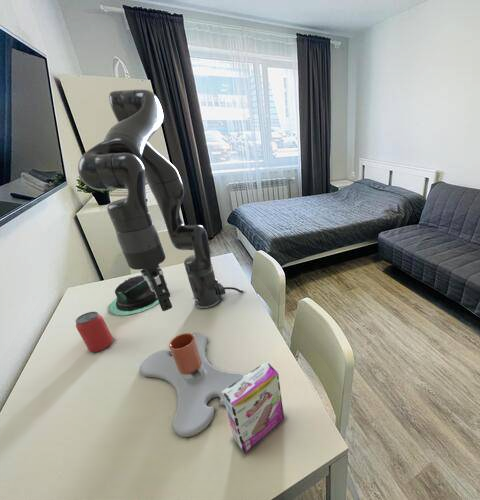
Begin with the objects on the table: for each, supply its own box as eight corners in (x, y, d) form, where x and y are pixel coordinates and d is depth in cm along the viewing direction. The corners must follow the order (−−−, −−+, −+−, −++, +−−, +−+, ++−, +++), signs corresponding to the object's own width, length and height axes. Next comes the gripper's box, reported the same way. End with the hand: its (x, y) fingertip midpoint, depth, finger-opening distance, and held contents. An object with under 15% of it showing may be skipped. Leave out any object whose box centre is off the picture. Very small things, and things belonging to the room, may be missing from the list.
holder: (183, 446, 61) (177, 433, 59) (137, 366, 82) (131, 354, 79) (255, 389, 74) (253, 376, 72) (199, 332, 94) (196, 321, 92)
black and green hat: (147, 313, 103) (94, 317, 103) (175, 306, 122) (130, 309, 121) (146, 274, 104) (93, 278, 104) (174, 273, 123) (129, 276, 122)
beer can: (100, 354, 86) (84, 325, 81) (83, 351, 88) (67, 322, 82) (118, 339, 92) (105, 311, 87) (103, 337, 93) (88, 309, 88)
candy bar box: (245, 456, 59) (231, 407, 52) (233, 439, 62) (219, 391, 55) (286, 418, 66) (278, 371, 59) (274, 405, 69) (266, 359, 62)
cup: (198, 353, 79) (190, 329, 75) (205, 365, 75) (197, 341, 71) (175, 364, 76) (166, 340, 72) (182, 378, 72) (172, 353, 68)
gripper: (167, 249, 60) (187, 307, 67) (152, 231, 69) (171, 284, 76) (127, 260, 55) (153, 322, 62) (117, 240, 64) (140, 296, 72)
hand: (162, 301), depth 69 cm, fingers open, 8 cm apart
